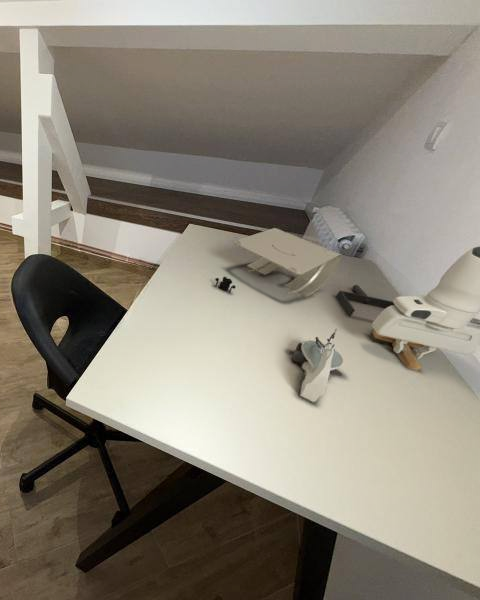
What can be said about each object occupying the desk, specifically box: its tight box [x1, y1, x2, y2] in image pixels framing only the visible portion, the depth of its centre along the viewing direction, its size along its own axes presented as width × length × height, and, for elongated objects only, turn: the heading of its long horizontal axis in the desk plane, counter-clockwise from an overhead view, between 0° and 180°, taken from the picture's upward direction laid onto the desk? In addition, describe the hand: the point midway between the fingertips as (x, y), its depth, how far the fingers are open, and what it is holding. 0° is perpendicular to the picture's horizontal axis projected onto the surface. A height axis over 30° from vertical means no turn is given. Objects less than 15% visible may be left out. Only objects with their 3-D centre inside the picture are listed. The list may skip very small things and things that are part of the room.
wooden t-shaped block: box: [368, 329, 425, 371], centre depth 83 cm, size 11×12×3 cm
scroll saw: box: [289, 328, 344, 405], centre depth 71 cm, size 20×11×12 cm
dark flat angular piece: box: [335, 284, 394, 317], centre depth 104 cm, size 22×17×3 cm
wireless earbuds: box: [214, 276, 237, 294], centre depth 104 cm, size 7×2×5 cm, turn 43°
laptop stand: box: [233, 227, 343, 298], centre depth 109 cm, size 26×24×16 cm
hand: (405, 354), depth 82 cm, fingers closed on wooden t-shaped block, 2 cm apart
